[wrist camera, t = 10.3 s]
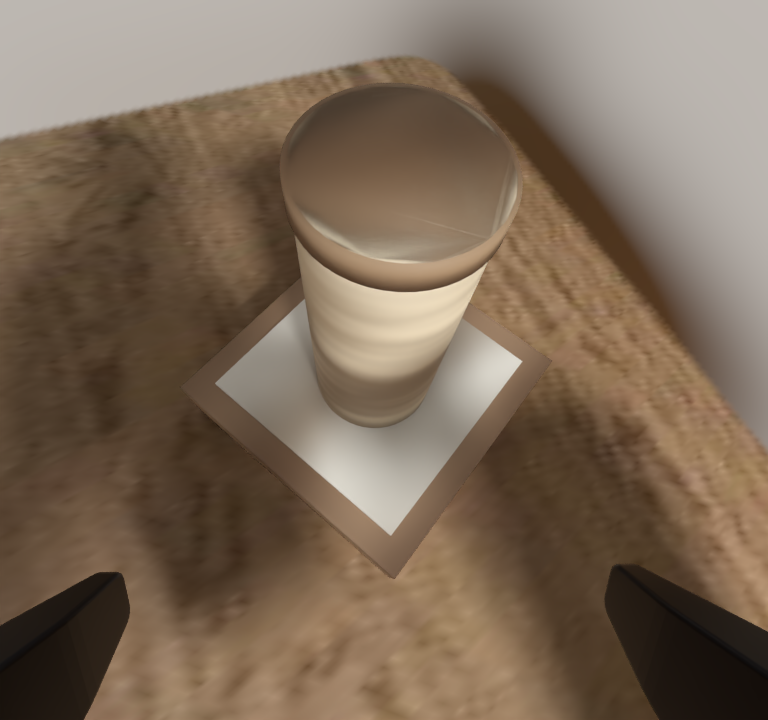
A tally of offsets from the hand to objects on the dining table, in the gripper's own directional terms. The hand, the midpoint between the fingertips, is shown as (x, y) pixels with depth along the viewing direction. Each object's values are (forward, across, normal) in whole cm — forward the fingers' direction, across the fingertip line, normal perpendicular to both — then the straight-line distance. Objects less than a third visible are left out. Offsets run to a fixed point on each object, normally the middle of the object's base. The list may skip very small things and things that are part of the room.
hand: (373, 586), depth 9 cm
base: (+14, 0, -2) cm, 14 cm away
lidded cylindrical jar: (+11, 0, 0) cm, 11 cm away
